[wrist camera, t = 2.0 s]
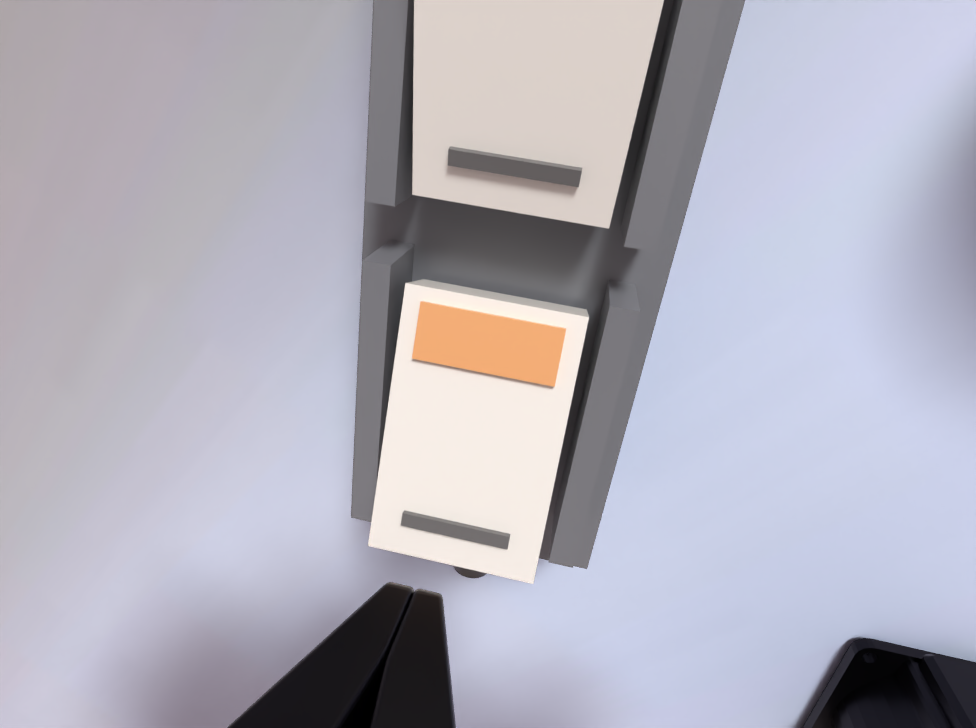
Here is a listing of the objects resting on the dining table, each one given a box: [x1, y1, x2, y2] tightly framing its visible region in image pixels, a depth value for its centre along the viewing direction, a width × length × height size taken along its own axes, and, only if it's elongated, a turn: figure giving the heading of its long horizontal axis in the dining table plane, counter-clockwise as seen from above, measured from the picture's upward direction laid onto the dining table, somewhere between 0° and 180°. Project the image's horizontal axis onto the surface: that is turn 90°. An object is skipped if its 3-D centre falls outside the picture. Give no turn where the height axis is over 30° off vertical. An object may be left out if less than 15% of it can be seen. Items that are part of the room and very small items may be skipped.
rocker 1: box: [368, 279, 589, 584], centre depth 14 cm, size 6×4×2 cm, turn 172°
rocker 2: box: [412, 0, 664, 229], centre depth 10 cm, size 6×4×2 cm, turn 173°
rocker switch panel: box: [351, 0, 745, 578], centre depth 14 cm, size 30×7×6 cm, turn 172°
